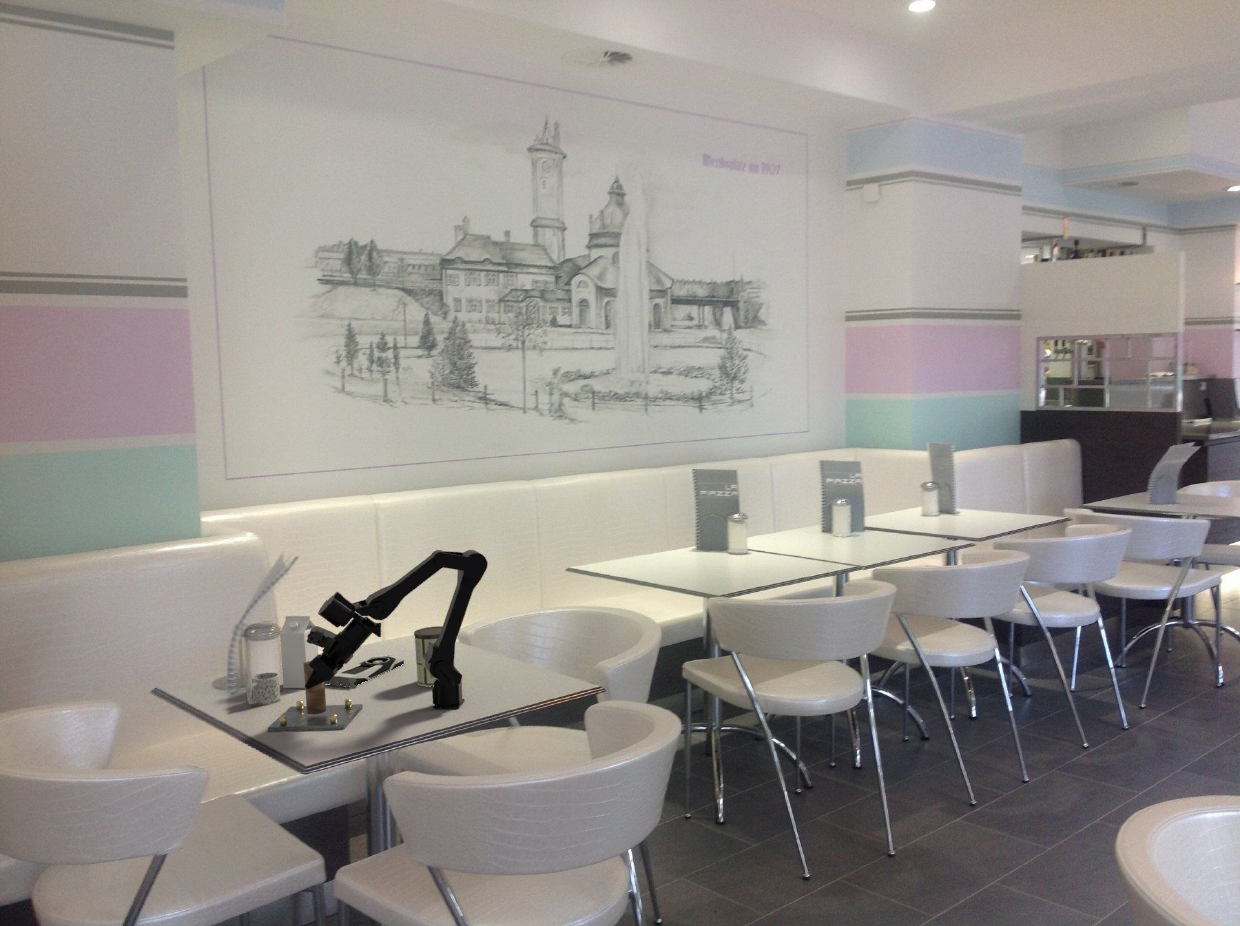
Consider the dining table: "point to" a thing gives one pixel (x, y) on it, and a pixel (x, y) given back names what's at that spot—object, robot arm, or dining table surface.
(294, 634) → the milk carton
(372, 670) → the graphics card
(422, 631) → the coffee can
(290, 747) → the dining table surface
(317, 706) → the walnut column
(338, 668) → the robot arm
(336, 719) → the base plate
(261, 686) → the mug
